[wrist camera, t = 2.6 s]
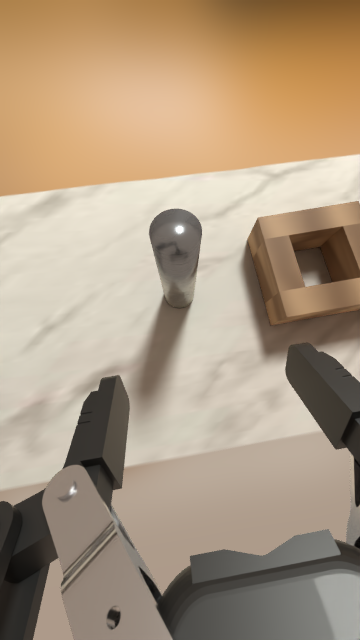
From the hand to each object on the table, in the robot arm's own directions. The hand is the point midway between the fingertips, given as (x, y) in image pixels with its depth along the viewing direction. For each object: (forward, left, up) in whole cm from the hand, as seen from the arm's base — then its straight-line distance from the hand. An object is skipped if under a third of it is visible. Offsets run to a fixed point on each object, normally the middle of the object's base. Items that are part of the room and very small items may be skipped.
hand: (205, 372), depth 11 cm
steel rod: (0, +9, -14) cm, 16 cm away
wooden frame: (+15, +9, -14) cm, 22 cm away
